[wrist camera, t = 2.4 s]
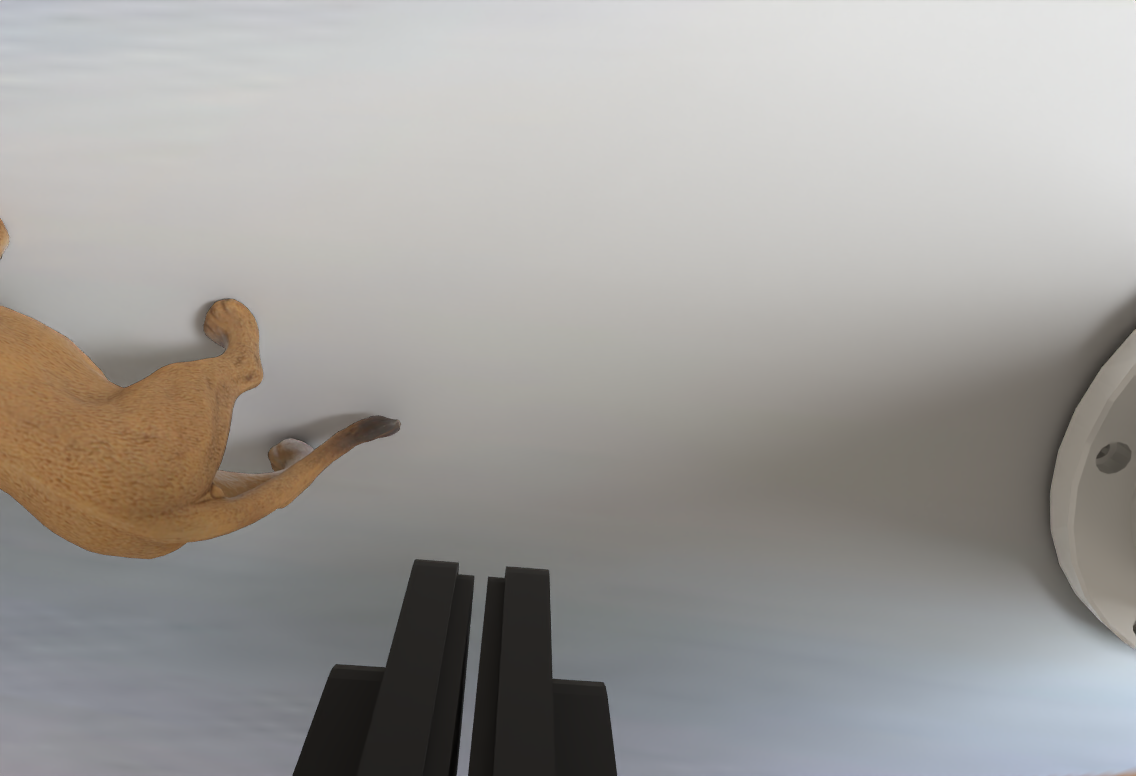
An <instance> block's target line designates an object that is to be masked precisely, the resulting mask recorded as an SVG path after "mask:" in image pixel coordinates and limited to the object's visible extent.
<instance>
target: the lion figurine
mask: <svg viewBox="0 0 1136 776" xmlns="http://www.w3.org/2000/svg"><path fill="white" fill-rule="evenodd" d="M8 245H9V235H8V232H7V230H6V228H5V225H4V223H3V222H2V220H1V219H0V259H2V254H3V253H4V251H5V250H6V249H7V247H8ZM203 327H204V332H205V334H206V335H207V336H208V337H209V338H210V339H211V340H212V341H214V342H215V343H217V344H218V345H220V346H222V347H224V348H225V349H226V350H225V352H224V353H223V354H222V355H220V356H218V357H214V358H207V359H202V360H196V361H190V362H179V363H173V364H169V365H166V366H164V367H161V368H160V369H158V370H157V371H155V372H154V373H152V374H151V375H150V376H148V377H146V378H145V379H143V380H141V381H139V382H137V383H135V384H133V385H130V386H128V387H125V388H122V387H120V386H118V385H116V384H114V383H111V382H110V381H108V379H107V378H106V377H105V375H104V374H103V373H102V371H101V370H100V369H99V368H98V367H97V366H96V365H95V364H94V363H93V362H92V361H91V360H90V358H89V357H88V356H86V355H85V354H84V353H83V352H82V351H81V350H80V349H79V348H78V347H77V346H76V345H75V344H74V343H73V342H72V341H71V340H69V339H68V338H67V337H66V336H64V335H62V334H60V333H58V332H57V331H55V330H53V329H51V328H50V327H48V326H46V325H44V324H42V323H41V322H39V321H37V320H35V319H33V318H31V317H28V316H26V315H23V314H21V313H19V312H16V311H14V310H11V309H9V308H6V307H3V306H0V489H1V490H3V491H4V492H6V493H8V494H9V495H11V496H12V497H13V498H14V499H15V500H16V501H17V502H19V503H20V504H21V505H22V506H23V507H24V508H25V509H27V510H28V511H29V512H30V513H31V514H32V515H33V516H34V517H35V518H36V519H37V520H39V521H40V522H41V523H42V524H43V525H44V526H45V527H47V528H48V529H50V530H51V531H52V532H54V533H55V534H57V535H59V536H60V537H62V538H64V539H65V540H67V541H69V542H71V543H73V544H75V545H77V546H79V547H81V548H83V549H86V550H88V551H91V552H95V553H99V554H103V555H111V556H120V557H128V558H142V559H153V558H156V557H160V556H164V555H166V554H169V553H171V552H173V551H175V550H177V549H179V548H180V547H182V546H183V545H184V544H186V543H187V542H195V541H202V540H208V539H212V538H215V537H219V536H222V535H225V534H229V533H231V532H234V531H236V530H239V529H241V528H243V527H246V526H248V525H251V524H253V523H255V522H256V521H258V520H260V519H261V518H263V517H265V516H267V515H268V514H270V513H272V512H273V511H275V510H276V509H278V508H284V507H285V506H287V505H288V504H290V503H291V502H292V501H293V500H294V499H295V498H296V497H297V496H299V495H300V494H301V493H302V492H303V491H304V490H305V489H306V488H307V487H308V486H309V485H310V484H311V483H312V482H313V481H314V479H315V478H316V477H317V476H318V475H319V474H320V473H321V472H322V471H323V470H324V469H325V468H326V467H327V466H329V465H330V464H331V463H332V462H333V461H335V460H336V459H338V458H339V457H341V456H342V455H343V454H345V453H347V452H348V451H350V450H351V449H352V448H354V447H355V446H356V445H359V444H361V443H364V442H369V441H372V440H375V439H377V438H382V437H387V436H390V435H393V434H395V433H396V432H398V431H399V430H400V425H401V423H400V422H399V420H395V419H389V418H386V417H383V416H371V417H369V418H366V419H362V420H360V421H357V422H355V423H353V424H352V425H350V426H348V427H347V428H345V429H343V430H341V431H338V432H337V433H336V434H334V435H333V436H332V437H331V438H330V439H328V440H327V441H326V442H325V443H323V444H322V445H320V446H319V447H318V448H316V449H315V450H314V449H313V448H312V447H311V446H309V445H308V444H306V443H305V442H303V441H299V440H296V439H293V438H290V439H284V440H283V441H281V442H280V443H279V444H277V445H275V446H273V447H272V448H271V449H270V451H269V453H268V457H269V460H270V462H271V465H272V469H273V470H274V471H275V472H270V473H262V474H246V473H236V472H227V471H222V470H218V468H219V466H220V464H221V461H222V458H223V455H224V452H225V448H226V444H227V439H228V435H229V431H230V424H231V419H232V412H233V407H234V403H235V400H236V399H237V397H238V396H239V395H240V394H242V393H243V392H245V391H247V390H250V389H253V388H255V387H257V386H258V385H259V384H260V383H261V381H262V379H263V369H262V365H261V361H260V355H259V330H258V326H257V323H256V321H255V318H254V316H253V315H252V314H251V312H250V311H249V310H248V308H247V307H245V306H244V305H243V304H242V303H240V302H238V301H237V300H234V299H224V300H220V301H217V302H215V303H214V304H213V305H212V307H211V308H210V309H209V311H208V312H207V314H206V318H205V322H204V325H203Z"/></svg>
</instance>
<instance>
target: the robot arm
mask: <svg viewBox="0 0 1136 776" xmlns="http://www.w3.org/2000/svg"><path fill="white" fill-rule="evenodd" d="M1050 526H1051V533H1052V537H1053V541H1054V545H1055V549H1056V553H1057V557H1058V561H1059V565H1060V567H1061V568H1062V570H1063V572H1064V574H1065V576H1066V578H1067V579H1068V581H1069V583H1070V585H1071V587H1072V589H1073V591H1074V592H1075V594H1076V595H1077V596H1078V597H1079V599H1080V600H1081V601H1082V602H1083V603H1084V604H1085V605H1086V606H1087V607H1088V608H1089V609H1090V610H1091V612H1092V613H1093V614H1094V615H1095V616H1096V617H1097V618H1098V619H1099V620H1100V621H1101V622H1102V623H1103V624H1104V625H1105V626H1107V627H1108V628H1109V629H1110V630H1111V631H1112V632H1113V633H1114V634H1115V635H1117V636H1118V637H1119V638H1120V639H1121V640H1122V641H1123V642H1124V643H1126V644H1127V645H1129V646H1130V647H1132V648H1134V649H1136V329H1135V330H1134V331H1133V332H1132V333H1131V334H1130V336H1129V337H1128V338H1127V339H1126V340H1125V341H1124V342H1123V344H1122V345H1121V346H1120V347H1119V348H1118V349H1117V350H1116V352H1115V353H1114V354H1113V355H1112V356H1111V357H1110V358H1109V360H1108V361H1107V362H1106V363H1105V364H1104V365H1103V367H1102V368H1101V369H1100V371H1099V372H1098V374H1097V375H1096V377H1095V379H1094V380H1093V382H1092V383H1091V385H1090V387H1089V388H1088V390H1087V391H1086V393H1085V395H1084V396H1083V398H1082V399H1081V401H1080V403H1079V404H1078V406H1077V407H1076V409H1075V411H1074V414H1073V416H1072V419H1071V421H1070V423H1069V426H1068V428H1067V431H1066V433H1065V436H1064V438H1063V441H1062V443H1061V445H1060V448H1059V450H1058V455H1057V460H1056V464H1055V469H1054V474H1053V479H1052V484H1051V489H1050ZM458 571H459V563H456V562H444V561H431V560H418V559H416V560H415V561H414V564H413V567H412V571H411V575H410V578H409V582H408V586H407V590H406V593H405V597H404V601H403V604H402V608H401V612H400V616H399V619H398V623H397V627H396V631H395V634H394V638H393V642H392V646H391V649H390V653H389V657H388V661H387V664H386V668H385V667H370V666H355V665H341V664H336V665H335V666H334V667H333V668H332V670H331V672H330V675H329V677H328V679H327V682H326V685H325V688H324V690H323V693H322V696H321V699H320V701H319V704H318V707H317V710H316V712H315V715H314V718H313V721H312V723H311V726H310V729H309V732H308V734H307V737H306V740H305V743H304V745H303V748H302V751H301V754H300V756H299V759H298V762H297V765H296V767H295V770H294V773H293V776H456V775H457V766H458V757H459V747H460V736H461V724H462V713H463V702H464V690H465V679H466V668H467V656H468V645H469V633H470V622H471V611H472V599H473V588H474V576H472V575H459V574H458ZM468 776H617V771H616V762H615V754H614V746H613V737H612V729H611V721H610V713H609V704H608V696H607V691H606V686H605V684H604V682H591V681H576V680H561V679H552V650H551V614H550V579H549V570H546V569H533V568H520V567H507V566H506V572H505V578H498V577H488V585H487V594H486V604H485V614H484V624H483V634H482V644H481V654H480V663H479V673H478V683H477V693H476V703H475V713H474V723H473V733H472V742H471V752H470V762H469V772H468Z"/></svg>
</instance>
